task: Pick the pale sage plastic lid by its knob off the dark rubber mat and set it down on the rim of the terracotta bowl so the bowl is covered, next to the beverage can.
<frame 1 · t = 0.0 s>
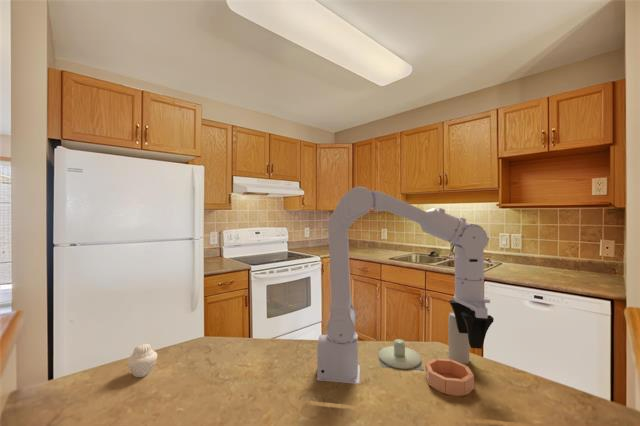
hand: (469, 339, 63), 10 cm above the countertop, fingers open, 7 cm apart
muffin: (142, 374, 68), on the countertop
mat: (399, 360, 74), on the countertop
lid: (399, 358, 74), point 1 cm above the countertop, touching mat
beverage can: (458, 362, 74), on the countertop
bowl: (448, 385, 63), on the countertop
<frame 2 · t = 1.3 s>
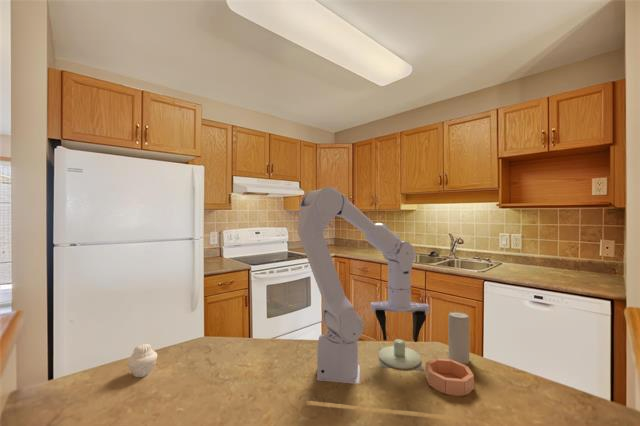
hand: (399, 339, 74), 5 cm above the countertop, fingers open, 7 cm apart
nothing on the countertop moved.
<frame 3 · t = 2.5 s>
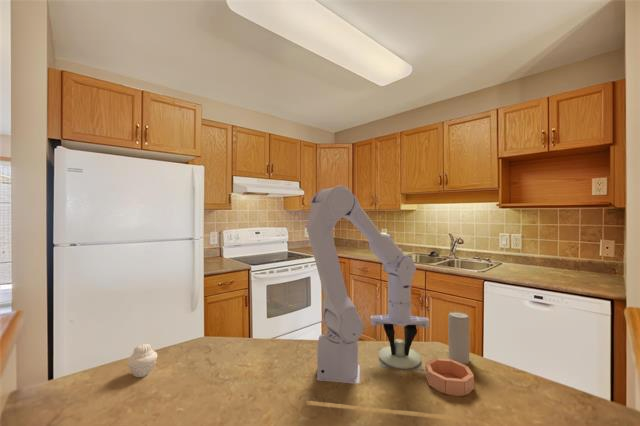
hand: (399, 353, 74), 2 cm above the countertop, fingers closed on lid, 3 cm apart
lid: (399, 358, 74), point 1 cm above the countertop, touching gripper, mat
everything else where it was.
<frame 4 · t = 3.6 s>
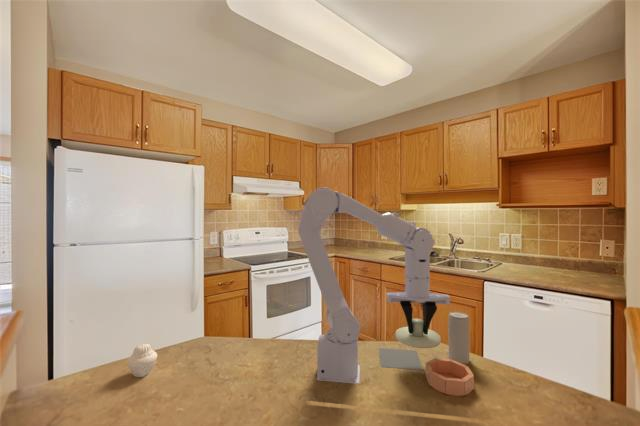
hand: (417, 332, 70), 9 cm above the countertop, fingers closed on lid, 3 cm apart
lid: (417, 338, 70), point 8 cm above the countertop, touching gripper
everything else where it was.
when the fingers open (6 cm above the countertop, at t = 4.8 s): lid stays where it is, resting on bowl.
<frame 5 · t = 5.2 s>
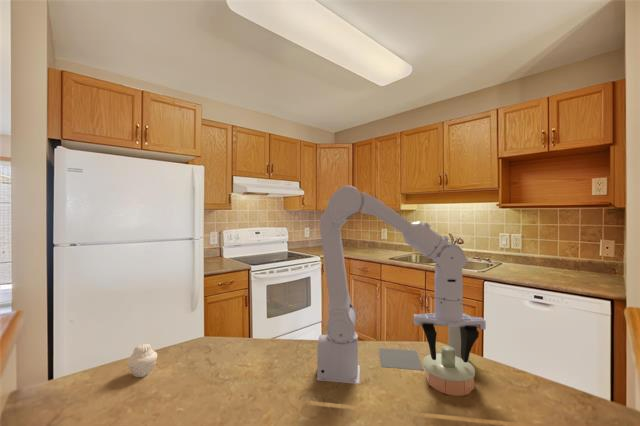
hand: (448, 359, 63), 6 cm above the countertop, fingers open, 6 cm apart
lid: (448, 368, 64), point 4 cm above the countertop, touching bowl
everything else where it was.
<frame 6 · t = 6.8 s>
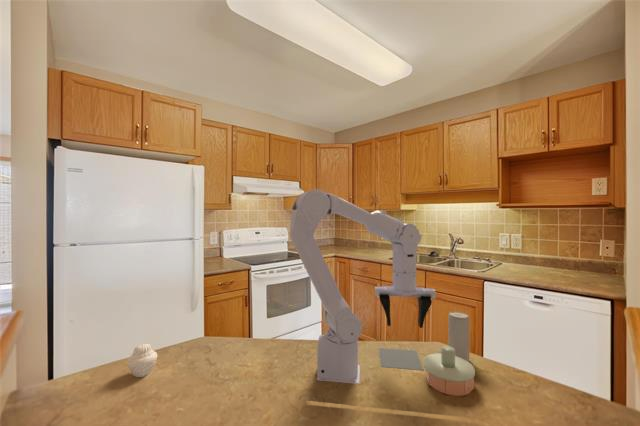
hand: (404, 325, 72), 10 cm above the countertop, fingers open, 7 cm apart
nothing on the countertop moved.
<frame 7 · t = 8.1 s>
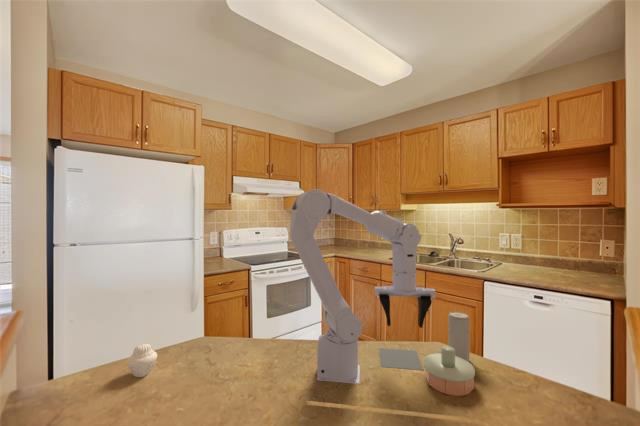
hand: (404, 325, 72), 10 cm above the countertop, fingers open, 7 cm apart
nothing on the countertop moved.
at the end: lid 0.3 cm off-centre on the bowl, point 3.6 cm above the bowl's base; lid tilted 0°; the gripper is holding nothing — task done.
